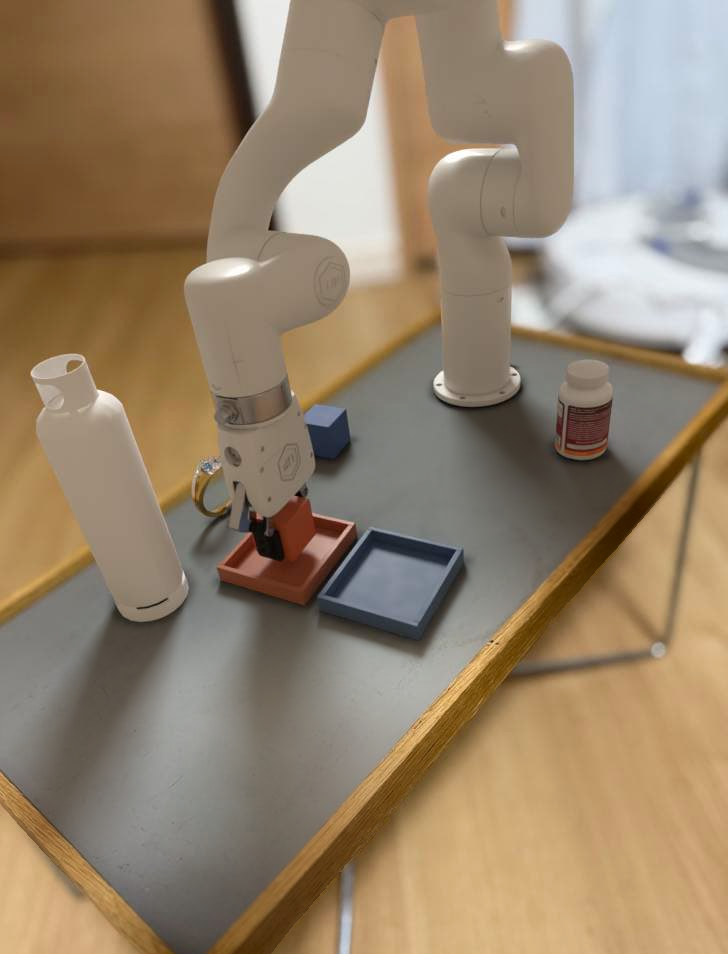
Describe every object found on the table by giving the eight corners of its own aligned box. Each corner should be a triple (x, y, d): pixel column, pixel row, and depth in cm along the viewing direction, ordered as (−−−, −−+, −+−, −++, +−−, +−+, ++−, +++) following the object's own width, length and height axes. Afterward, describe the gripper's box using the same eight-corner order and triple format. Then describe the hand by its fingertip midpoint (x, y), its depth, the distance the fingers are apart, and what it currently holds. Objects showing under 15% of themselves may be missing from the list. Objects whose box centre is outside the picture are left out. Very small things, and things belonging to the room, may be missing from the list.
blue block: (320, 434, 100) (314, 403, 97) (350, 440, 98) (346, 408, 95) (302, 453, 97) (296, 422, 94) (333, 459, 95) (328, 427, 92)
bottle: (102, 611, 78) (-9, 383, 60) (147, 565, 83) (56, 342, 65) (160, 629, 74) (59, 392, 57) (202, 579, 80) (122, 348, 62)
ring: (235, 495, 92) (221, 443, 87) (251, 502, 90) (238, 450, 85) (194, 523, 88) (177, 470, 83) (210, 532, 86) (193, 478, 81)
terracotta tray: (277, 516, 87) (274, 503, 85) (357, 536, 82) (355, 522, 80) (220, 580, 79) (216, 567, 78) (304, 606, 74) (301, 592, 73)
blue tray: (371, 539, 81) (369, 525, 80) (464, 561, 76) (463, 547, 74) (319, 610, 73) (316, 596, 72) (418, 640, 68) (417, 626, 67)
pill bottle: (617, 448, 87) (628, 366, 80) (582, 468, 85) (591, 386, 78) (577, 430, 92) (585, 351, 85) (543, 448, 90) (548, 369, 83)
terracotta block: (279, 525, 82) (271, 490, 78) (316, 534, 79) (309, 498, 76) (256, 551, 78) (246, 516, 75) (293, 561, 76) (285, 526, 73)
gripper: (232, 449, 60) (272, 599, 72) (328, 360, 71) (350, 504, 82) (166, 436, 64) (214, 582, 75) (267, 353, 74) (296, 492, 86)
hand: (285, 539), depth 79 cm, fingers closed on terracotta block, 5 cm apart
